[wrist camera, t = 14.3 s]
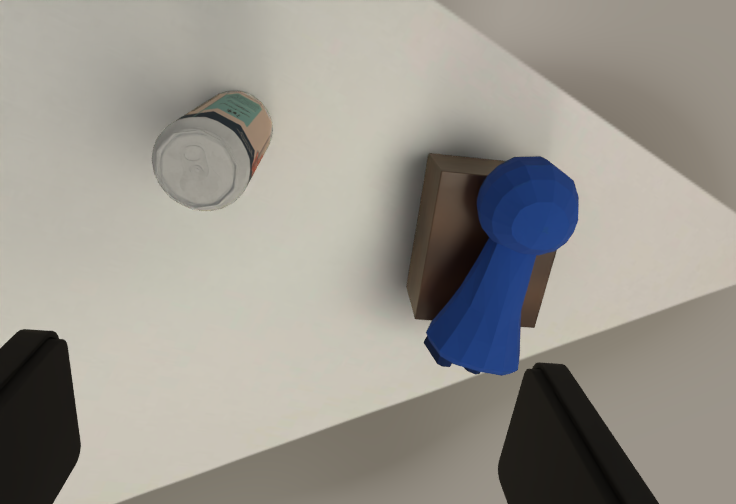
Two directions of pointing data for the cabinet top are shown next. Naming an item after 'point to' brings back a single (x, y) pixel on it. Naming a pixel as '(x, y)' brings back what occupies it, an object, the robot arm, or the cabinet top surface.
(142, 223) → the cabinet top surface
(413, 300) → the walnut block
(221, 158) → the beer can
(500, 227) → the toy
